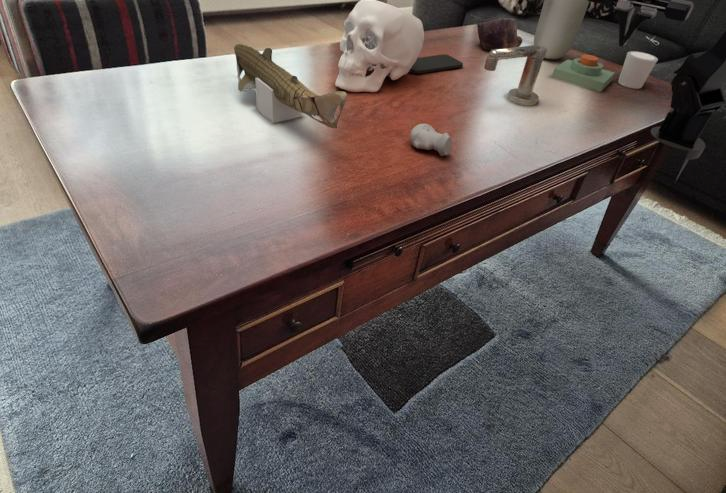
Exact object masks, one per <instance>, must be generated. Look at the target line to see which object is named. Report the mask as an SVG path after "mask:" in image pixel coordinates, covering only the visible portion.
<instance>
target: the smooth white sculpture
mask: <svg viewBox="0 0 726 493" xmlns="http://www.w3.org/2000/svg"><path fill="white" fill-rule="evenodd" d="M409 140H410V143H411V145H412V146H413V147H414V148H416V149H421V150H426V151H430V150H433V149H434V150H435V151H437V152H438V154H439V156H440V157H444V156H448V155H450V153H451V150H452V144H453V141H452V139H451V137H450V135H449V133H448V132H444V133H439V132H437V131H436V129H434V127H432V126H431V125H430V124H428V123H418V124H416V125H415V126H414V127H413V128H412V129H411V131H410V133H409Z"/></svg>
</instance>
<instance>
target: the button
mask: <svg viewBox="0 0 726 493" xmlns="http://www.w3.org/2000/svg"><path fill="white" fill-rule="evenodd" d="M580 58H581V59H580V61H579V63H581V64H583V65H586V66H592V67H596V65H597V63H598V62H599V60H600V59H599V58H598V57H597V56H595V55H592V54H581V56H580Z"/></svg>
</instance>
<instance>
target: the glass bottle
mask: <svg viewBox="0 0 726 493" xmlns="http://www.w3.org/2000/svg"><path fill="white" fill-rule="evenodd" d="M589 4H590V1H587V0H544V1H543V4H542V7H541V11H540V15H539V18H538V22H537V25H536V29H535V33H534V36H533V45H539V46H543V47H545V48H546V49H547V51H546V54H545V57H544V58H543V59H546V60H559V59H561V58H563V57H564V56H566V55H567V54H568V53H569V52H570V50H571V49H572V47H573V46H574V43H575V42H576V39H577V36H578V33H579V31H580V28H581V25H582V23H583V21H584V17H585V15H586V13H587V10H588V6H589Z"/></svg>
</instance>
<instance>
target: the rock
mask: <svg viewBox="0 0 726 493" xmlns="http://www.w3.org/2000/svg"><path fill="white" fill-rule="evenodd" d="M476 25H477V35H478V39H479V45H480V46H481V47H482V48H483V49H484V50H485V51H489V52H490V51H492V50H494V49H504V48H514V47H521V45H522V44H523V38H522V37H521V36H518V25H517V20H516V19H515V18H512V17H501V18H485V19H483V20H482V21H480V22H479V23H478V24H476Z"/></svg>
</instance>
